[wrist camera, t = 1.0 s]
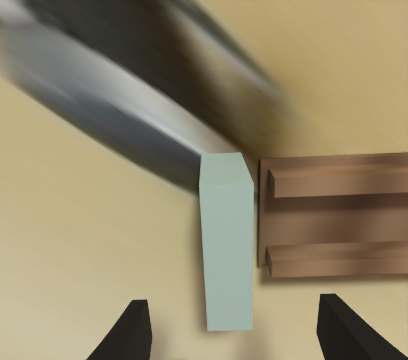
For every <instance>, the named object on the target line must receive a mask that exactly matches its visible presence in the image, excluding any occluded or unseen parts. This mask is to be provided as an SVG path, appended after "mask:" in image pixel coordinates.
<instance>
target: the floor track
mask: <svg viewBox="0 0 408 360" xmlns="http://www.w3.org/2000/svg"><path fill="white" fill-rule="evenodd" d="M258 263H259V266H268V267H269V271H270V274H271V277H272V278H277V277H308V276H339V275H370V274H401V273H408V152H407V153H383V154H360V155H337V156H314V157H291V158H267V159H259V220H258Z"/></svg>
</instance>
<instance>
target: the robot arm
mask: <svg viewBox="0 0 408 360" xmlns="http://www.w3.org/2000/svg"><path fill="white" fill-rule="evenodd" d="M316 333H317V336H318V339H319V343H320V346H321V349H322V352H323V355H324V358H325V360H408V357H406V356H405V355H404V354H403V353H401V352H400V351H399V350H398V349H396V348H395V347H394V346H393V345H391V344H390V343H389V342H388V341H387V340H385V339H384V338H383V337H382V336H381V335H380V334H378V333H377V332H376V331H375V330H374V329H373V328H372V327H371V326H369V325H368V324H367V323H366V322H365V321H364V320H363V319H362V318H361V317H360V316H359V315H358V314H356V313H355V312H354V311H353V310H352V309H351V308H350V307H349V306H348V305H347V304H346V303H345V302H344V301H343V300H342V299H341V298H339V297H338V296H337V295H336V294H320V302H319V312H318V321H317V331H316ZM151 344H152V331H151V323H150V316H149V309H148V302H147V300H132V301H131V302H130V304H129V305H128V307H127V308H126V309H125V311H124V312H123V314H122V315H121V316H120V318H119V319H118V321H117V322H116V323H115V325H114V326H113V327H112V329H111V330H110V331H109V333H108V334H107V335H106V336H105V338H104V339H103V340H102V342H101V343H100V344H99V345H98V346H97V348H96V349H95V350H94V351H93V352H92V353H91V355H90V356H89V357H88V358H87V359H86V360H149V358H150V351H151Z"/></svg>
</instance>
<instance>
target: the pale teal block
mask: <svg viewBox="0 0 408 360" xmlns="http://www.w3.org/2000/svg"><path fill="white" fill-rule="evenodd" d="M199 192H200V210H201V227H202V244H203V262H204V279H205V297H206V314H207V331H236V330H253V222H254V183H253V181H252V178H251V176H250V174H249V171H248V169H247V166H246V164H245V162H244V159H243V157H242V154H241V153H219V154H201V168H200V182H199Z"/></svg>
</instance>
